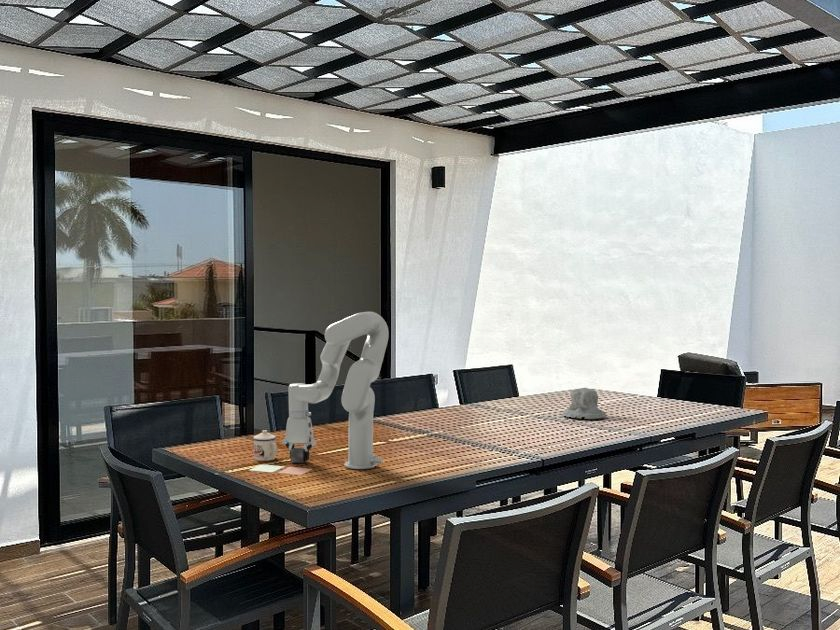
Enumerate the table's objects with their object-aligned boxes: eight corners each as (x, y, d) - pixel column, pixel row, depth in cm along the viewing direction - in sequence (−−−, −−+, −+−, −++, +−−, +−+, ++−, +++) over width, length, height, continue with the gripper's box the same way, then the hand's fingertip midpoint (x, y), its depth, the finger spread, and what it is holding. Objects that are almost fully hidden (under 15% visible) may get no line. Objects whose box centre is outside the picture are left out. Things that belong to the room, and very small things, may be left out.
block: (308, 460, 318) (307, 447, 317) (302, 462, 313) (302, 450, 313) (296, 459, 319) (296, 447, 319) (291, 462, 314) (290, 449, 314)
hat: (616, 418, 427) (616, 390, 427) (582, 421, 416) (583, 393, 416) (584, 411, 450) (584, 384, 449) (551, 414, 439) (552, 387, 438)
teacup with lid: (248, 459, 323) (248, 430, 322) (266, 455, 330) (266, 427, 329) (267, 463, 315) (267, 434, 314) (285, 459, 322) (285, 431, 321)
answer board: (313, 470, 304) (313, 469, 304) (301, 476, 295) (301, 474, 295) (261, 465, 311) (261, 464, 311) (248, 471, 302) (248, 470, 302)
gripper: (322, 413, 316) (323, 459, 317) (283, 412, 322) (284, 457, 322) (313, 417, 309) (315, 463, 310) (274, 415, 315) (275, 461, 315)
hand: (299, 459), depth 316 cm, fingers closed on block, 5 cm apart
